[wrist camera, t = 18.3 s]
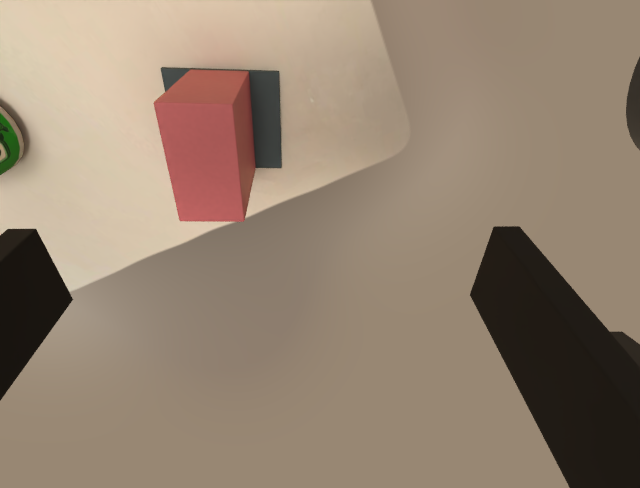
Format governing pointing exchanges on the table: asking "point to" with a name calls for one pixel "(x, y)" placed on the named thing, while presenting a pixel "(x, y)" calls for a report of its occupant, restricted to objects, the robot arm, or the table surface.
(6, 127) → the soda can
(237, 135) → the red rectangular block
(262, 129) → the mat
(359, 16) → the table surface
